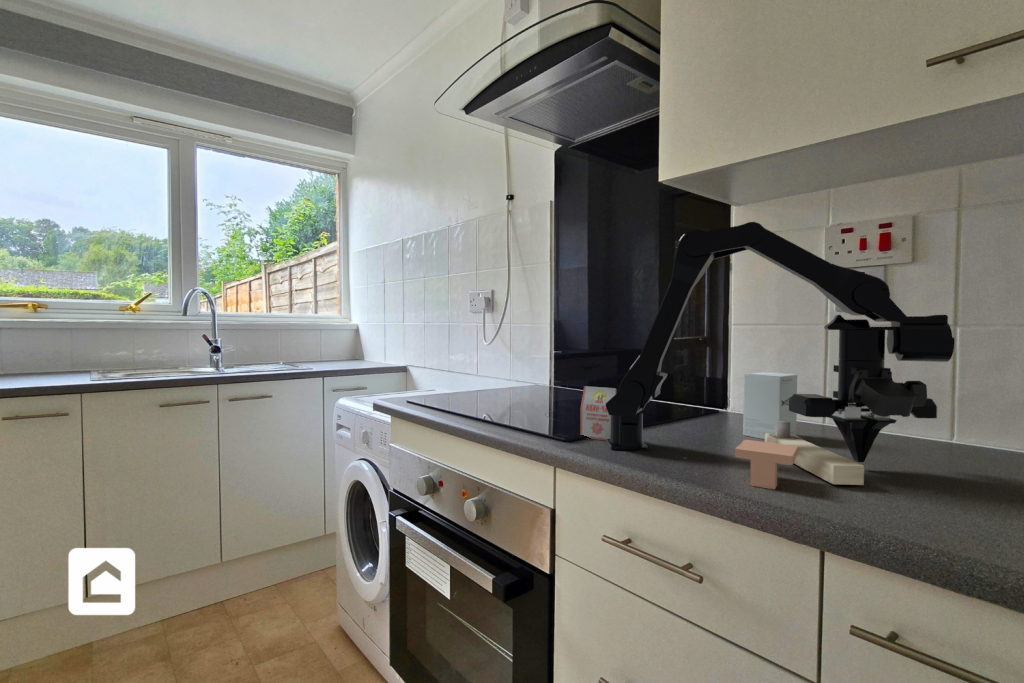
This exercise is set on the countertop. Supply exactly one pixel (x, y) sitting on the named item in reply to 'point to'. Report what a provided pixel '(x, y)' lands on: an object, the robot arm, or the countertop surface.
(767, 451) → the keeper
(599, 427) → the white printed box
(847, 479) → the link
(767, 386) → the supplement box
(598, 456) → the countertop surface
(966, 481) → the countertop surface
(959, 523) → the countertop surface
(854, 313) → the robot arm
